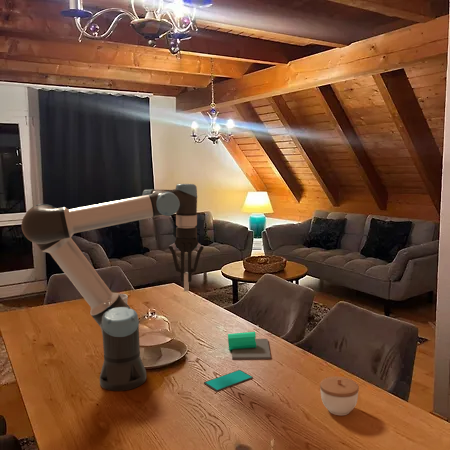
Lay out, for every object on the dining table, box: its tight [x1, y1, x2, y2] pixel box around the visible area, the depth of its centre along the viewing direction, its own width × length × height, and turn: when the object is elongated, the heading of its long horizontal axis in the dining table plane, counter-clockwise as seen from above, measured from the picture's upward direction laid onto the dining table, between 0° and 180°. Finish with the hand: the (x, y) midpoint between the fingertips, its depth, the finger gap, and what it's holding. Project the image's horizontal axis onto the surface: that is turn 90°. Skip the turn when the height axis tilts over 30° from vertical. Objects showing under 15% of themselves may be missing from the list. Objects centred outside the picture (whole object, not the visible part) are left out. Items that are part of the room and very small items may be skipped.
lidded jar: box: [319, 376, 360, 417], centre depth 137 cm, size 11×11×9 cm
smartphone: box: [203, 369, 254, 393], centre depth 157 cm, size 7×1×15 cm
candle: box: [227, 331, 261, 351], centre depth 183 cm, size 6×6×12 cm
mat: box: [231, 338, 272, 360], centre depth 183 cm, size 18×14×1 cm
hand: (186, 290), depth 176 cm, fingers closed
